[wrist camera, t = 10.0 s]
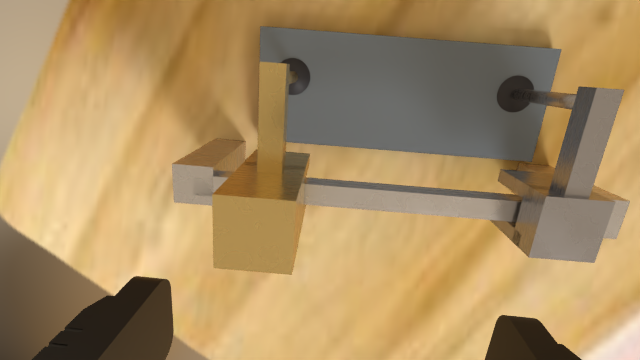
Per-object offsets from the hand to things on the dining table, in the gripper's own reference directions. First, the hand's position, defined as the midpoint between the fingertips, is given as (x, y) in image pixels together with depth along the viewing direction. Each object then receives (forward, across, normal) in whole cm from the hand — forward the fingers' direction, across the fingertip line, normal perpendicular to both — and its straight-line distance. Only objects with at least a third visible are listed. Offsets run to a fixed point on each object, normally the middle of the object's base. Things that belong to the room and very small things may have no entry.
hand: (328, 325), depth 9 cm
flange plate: (+27, -6, -4) cm, 28 cm away
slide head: (+25, +4, 0) cm, 26 cm away
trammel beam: (+27, -5, 0) cm, 27 cm away
